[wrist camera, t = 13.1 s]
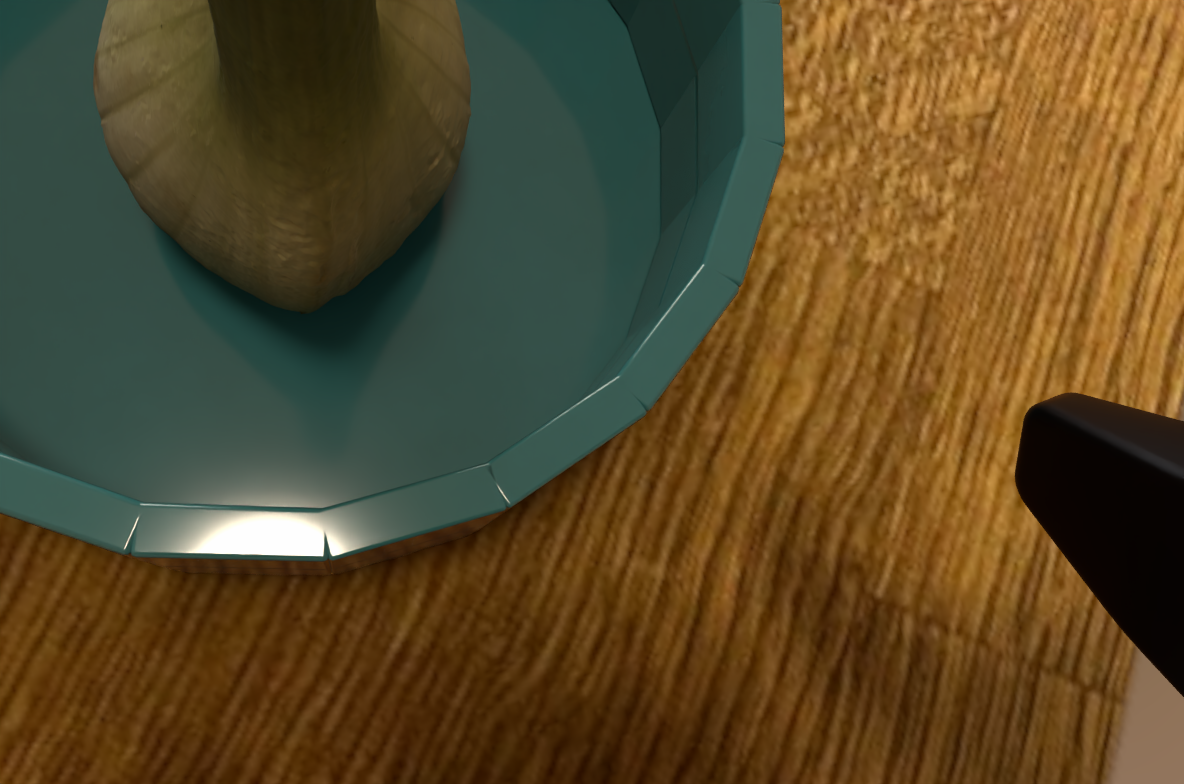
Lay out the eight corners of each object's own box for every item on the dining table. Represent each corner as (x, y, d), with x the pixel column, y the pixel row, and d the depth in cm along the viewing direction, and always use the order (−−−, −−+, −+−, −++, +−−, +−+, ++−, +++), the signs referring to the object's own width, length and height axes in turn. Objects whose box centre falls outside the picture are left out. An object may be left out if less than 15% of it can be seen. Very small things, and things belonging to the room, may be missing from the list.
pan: (785, 443, 19) (918, 390, 14) (-72, 696, 15) (-238, 726, 11) (559, -241, 20) (618, -474, 16) (-254, -156, 17) (-461, -424, 12)
